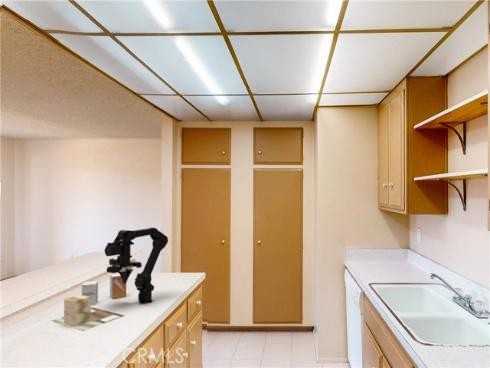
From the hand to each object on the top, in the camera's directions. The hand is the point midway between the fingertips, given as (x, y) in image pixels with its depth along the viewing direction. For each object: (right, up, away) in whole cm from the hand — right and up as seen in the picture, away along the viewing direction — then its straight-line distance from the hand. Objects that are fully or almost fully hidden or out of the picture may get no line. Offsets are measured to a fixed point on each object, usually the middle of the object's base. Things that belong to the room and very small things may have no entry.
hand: (124, 283), depth 183 cm
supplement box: (-20, -14, +4) cm, 25 cm away
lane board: (-10, -13, -19) cm, 25 cm away
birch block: (-13, -11, -24) cm, 30 cm away
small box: (-11, -14, +21) cm, 27 cm away
